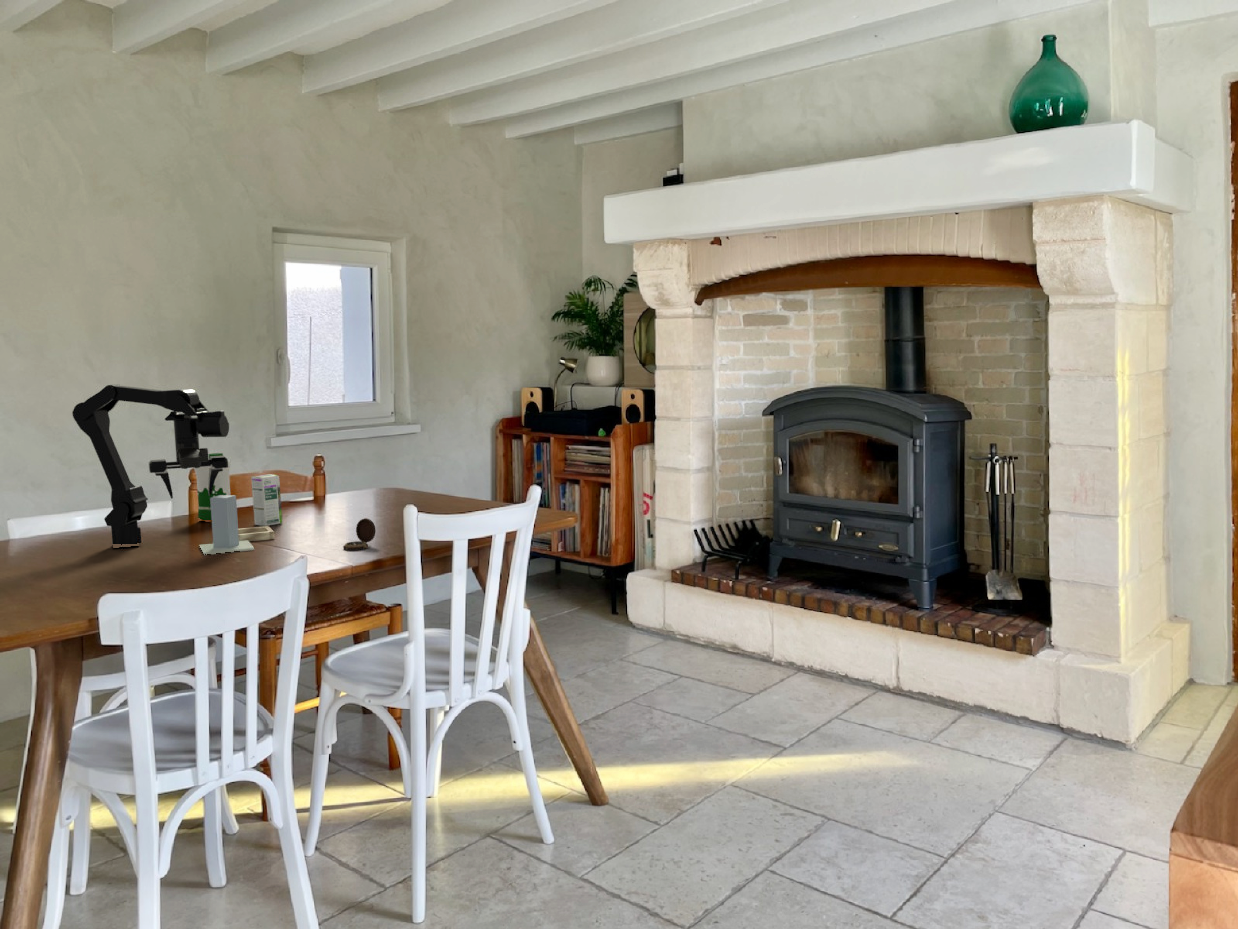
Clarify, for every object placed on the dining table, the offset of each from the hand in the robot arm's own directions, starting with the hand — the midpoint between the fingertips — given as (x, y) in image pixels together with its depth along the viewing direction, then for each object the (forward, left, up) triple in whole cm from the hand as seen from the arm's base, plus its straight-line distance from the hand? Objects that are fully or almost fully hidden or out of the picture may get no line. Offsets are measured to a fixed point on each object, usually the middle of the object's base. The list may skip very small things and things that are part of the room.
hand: (191, 496), depth 263 cm
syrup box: (+22, +23, -13) cm, 34 cm away
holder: (+15, +3, -13) cm, 20 cm away
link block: (+7, -9, -12) cm, 17 cm away
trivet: (+7, -9, -13) cm, 17 cm away
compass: (+37, -27, -13) cm, 48 cm away
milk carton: (+9, +39, -13) cm, 42 cm away
